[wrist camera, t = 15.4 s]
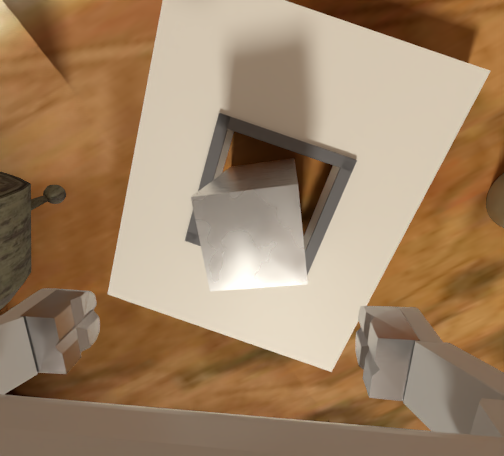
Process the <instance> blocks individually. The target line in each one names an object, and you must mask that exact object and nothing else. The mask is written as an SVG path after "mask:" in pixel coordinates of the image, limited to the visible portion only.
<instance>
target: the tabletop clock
mask: <svg viewBox="0 0 504 456" xmlns="http://www.w3.org/2000/svg"><path fill="white" fill-rule="evenodd" d="M65 197H66V193H65V190H64V189H63V188H62V187H61V186H59V185H49V186H47V188H46V189H45V190H44V193H43V196H40V197H37V198H35V199H32V200H31V184H30V183H28V182H26V181H24V180H23V179H21V178H18V177H15V176H13V175H10V174H7V173H3V172H0V309H2V308H3V307H4V306H5V305H6V304H7V303H8V302H9V301H10V300H11V299H12V297H13V296H14V295H15V294H16V292H17V291H18V290H19V288H20V287H21V286H22V285H23V283H24V282H25V281H26V279H27V277H28V276H29V274H30V273H31V210H33V209H35V208H36V207H38V206H40V205H41V204H43V203H45V202H47V201H48V202H50V203H52V204H58V203H61V202H62V201H63V200H64V199H65Z"/></svg>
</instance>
